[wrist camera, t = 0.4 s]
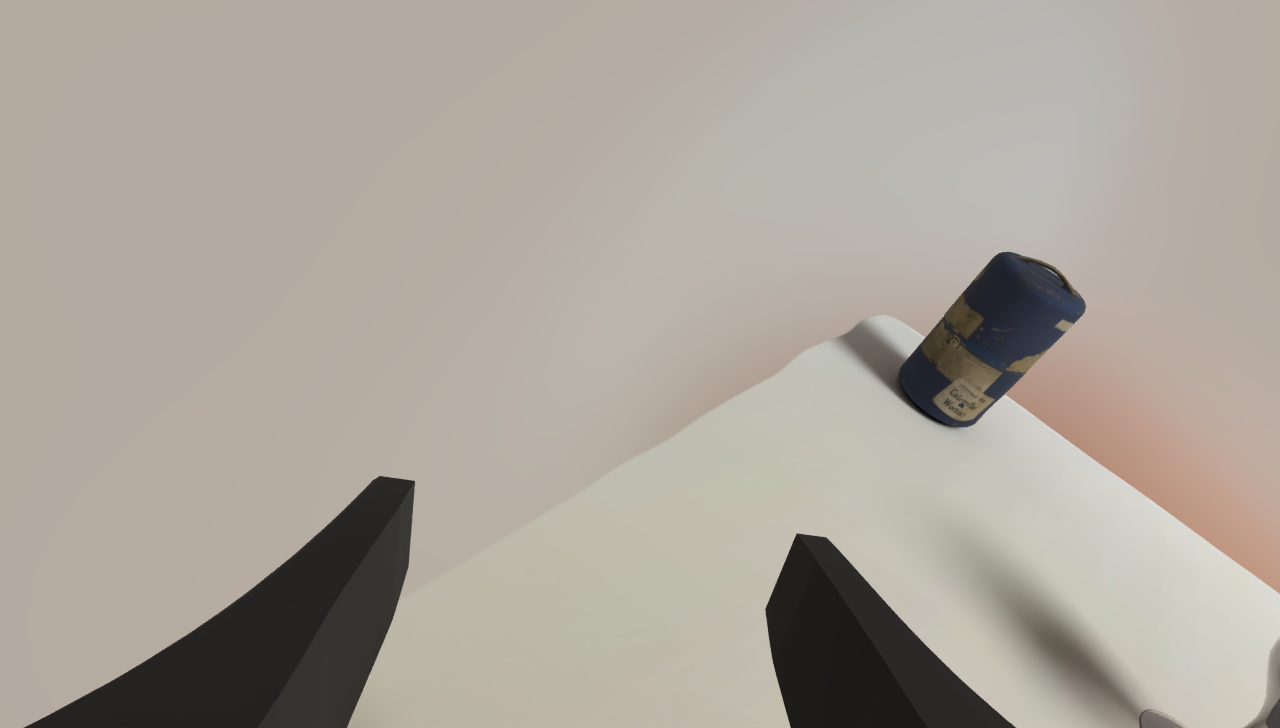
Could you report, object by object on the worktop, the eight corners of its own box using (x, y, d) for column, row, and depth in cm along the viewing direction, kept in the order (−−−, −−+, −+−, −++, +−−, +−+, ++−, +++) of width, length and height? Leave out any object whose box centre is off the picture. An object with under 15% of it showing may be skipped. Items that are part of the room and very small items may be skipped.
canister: (921, 371, 77) (1032, 241, 68) (984, 429, 72) (1115, 298, 62) (876, 374, 71) (991, 233, 62) (941, 439, 66) (1078, 295, 56)
